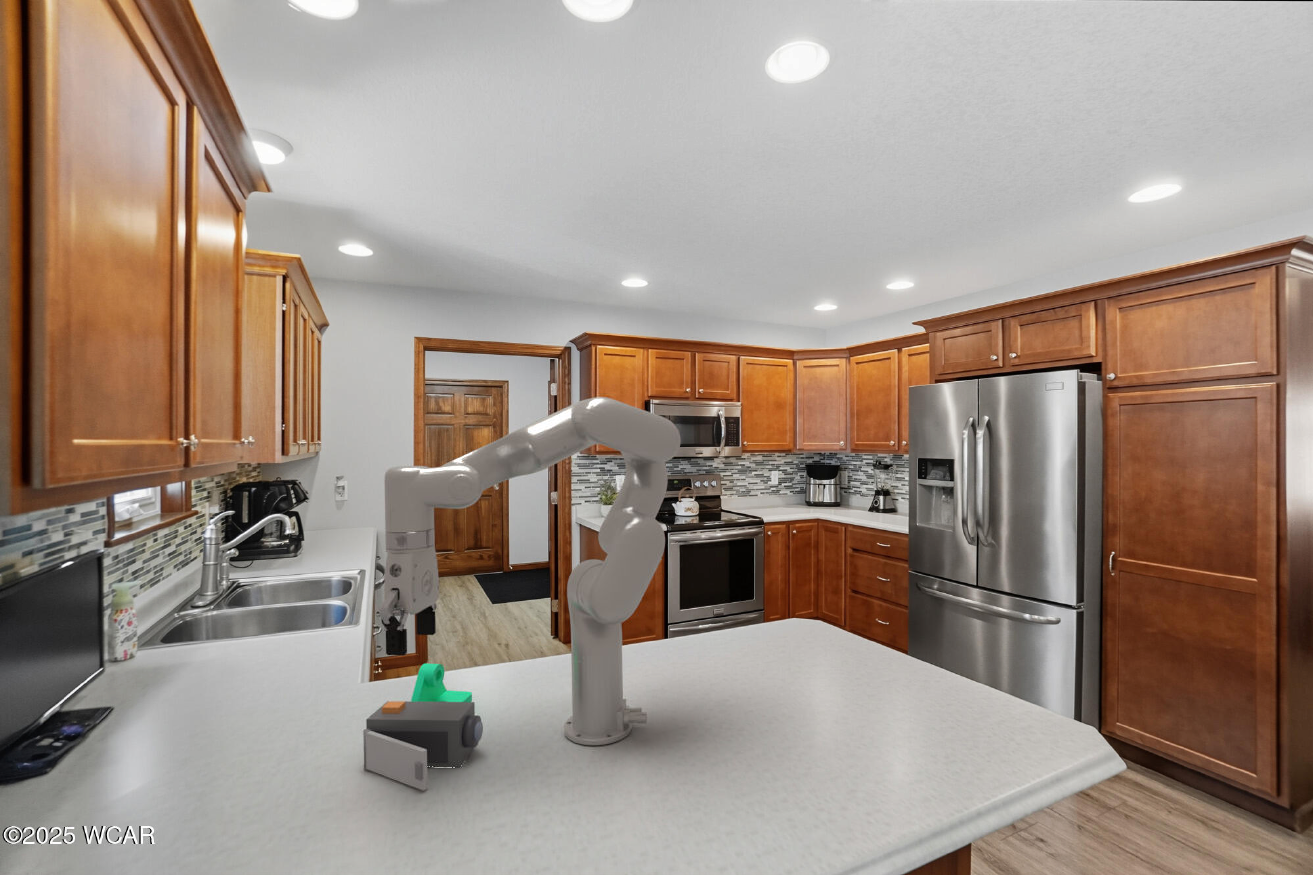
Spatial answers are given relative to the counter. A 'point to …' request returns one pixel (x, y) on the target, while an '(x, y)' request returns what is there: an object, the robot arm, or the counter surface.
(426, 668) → the camera mount
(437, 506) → the robot arm
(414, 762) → the door
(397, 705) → the camera body
